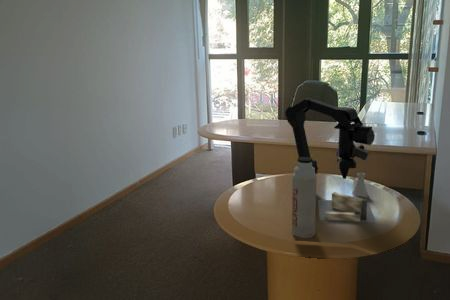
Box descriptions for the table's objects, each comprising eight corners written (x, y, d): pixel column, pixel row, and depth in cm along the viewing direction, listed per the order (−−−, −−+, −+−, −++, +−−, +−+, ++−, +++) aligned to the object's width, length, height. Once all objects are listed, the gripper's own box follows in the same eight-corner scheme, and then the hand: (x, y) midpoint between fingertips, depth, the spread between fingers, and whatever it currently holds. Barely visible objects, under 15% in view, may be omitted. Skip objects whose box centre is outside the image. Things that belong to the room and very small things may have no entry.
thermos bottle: (295, 241, 137) (296, 162, 130) (289, 230, 145) (290, 155, 138) (317, 239, 138) (320, 161, 131) (311, 229, 146) (313, 154, 138)
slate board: (319, 222, 151) (319, 219, 150) (317, 201, 170) (318, 199, 169) (375, 225, 147) (376, 222, 147) (367, 203, 166) (367, 201, 166)
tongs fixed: (365, 217, 151) (366, 200, 149) (367, 221, 148) (368, 203, 146) (324, 215, 154) (325, 198, 152) (325, 219, 151) (325, 202, 149)
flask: (366, 192, 178) (367, 171, 175) (370, 199, 171) (371, 176, 168) (349, 192, 179) (350, 171, 176) (352, 198, 172) (354, 176, 169)
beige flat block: (363, 214, 153) (363, 199, 151) (360, 216, 152) (361, 201, 150) (333, 206, 162) (334, 192, 160) (331, 207, 160) (331, 193, 159)
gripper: (371, 147, 148) (368, 187, 152) (364, 135, 165) (362, 171, 169) (340, 146, 150) (338, 186, 154) (336, 135, 167) (334, 171, 171)
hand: (344, 178), depth 162 cm, fingers closed
